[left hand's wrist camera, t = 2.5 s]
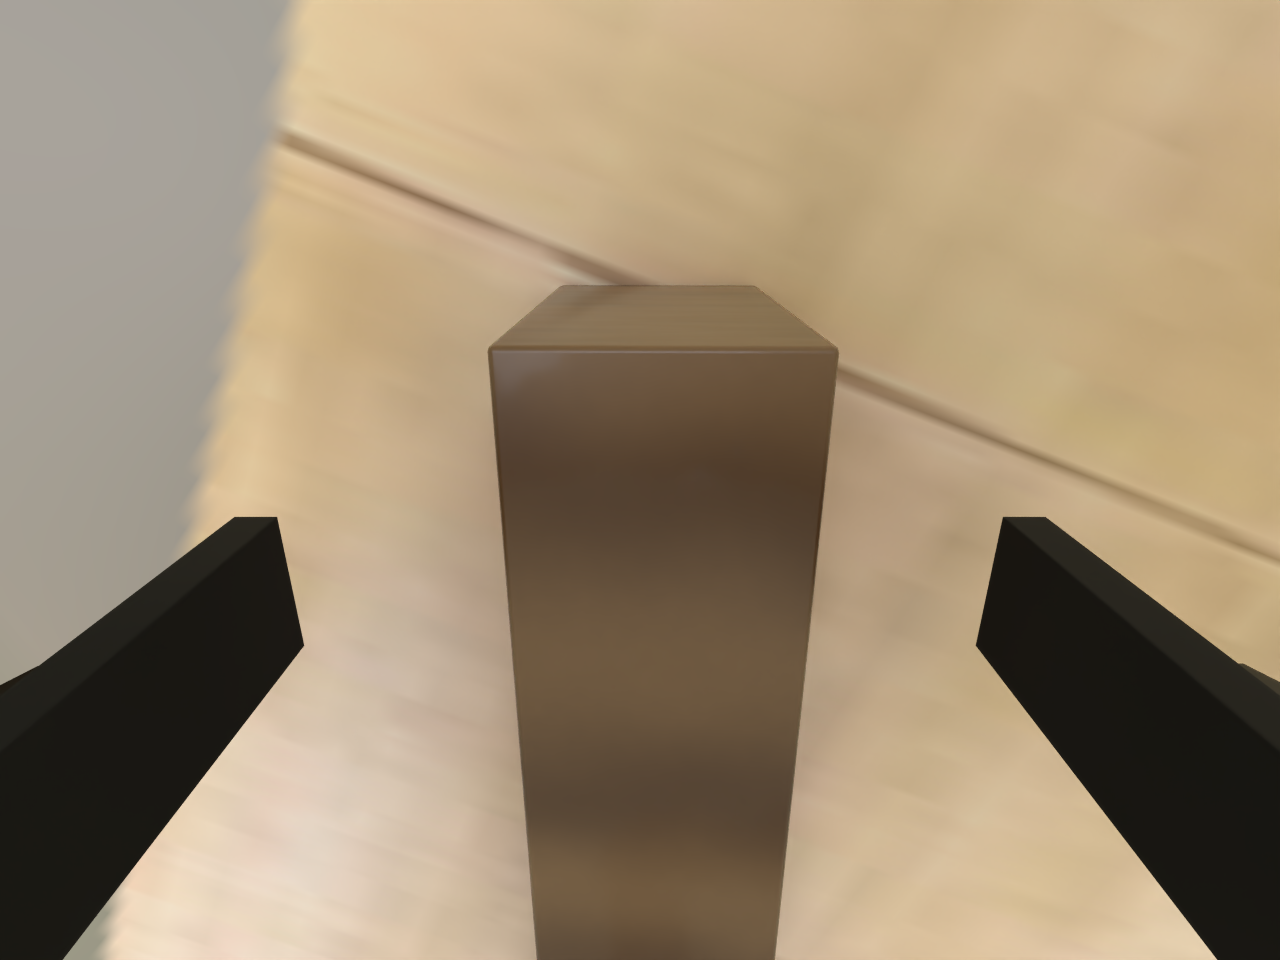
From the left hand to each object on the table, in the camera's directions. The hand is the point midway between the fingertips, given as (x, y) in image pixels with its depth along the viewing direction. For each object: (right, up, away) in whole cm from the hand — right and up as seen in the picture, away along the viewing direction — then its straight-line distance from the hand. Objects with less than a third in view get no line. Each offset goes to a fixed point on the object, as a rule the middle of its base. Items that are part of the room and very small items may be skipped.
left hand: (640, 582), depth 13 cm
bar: (0, -23, +16) cm, 28 cm away
